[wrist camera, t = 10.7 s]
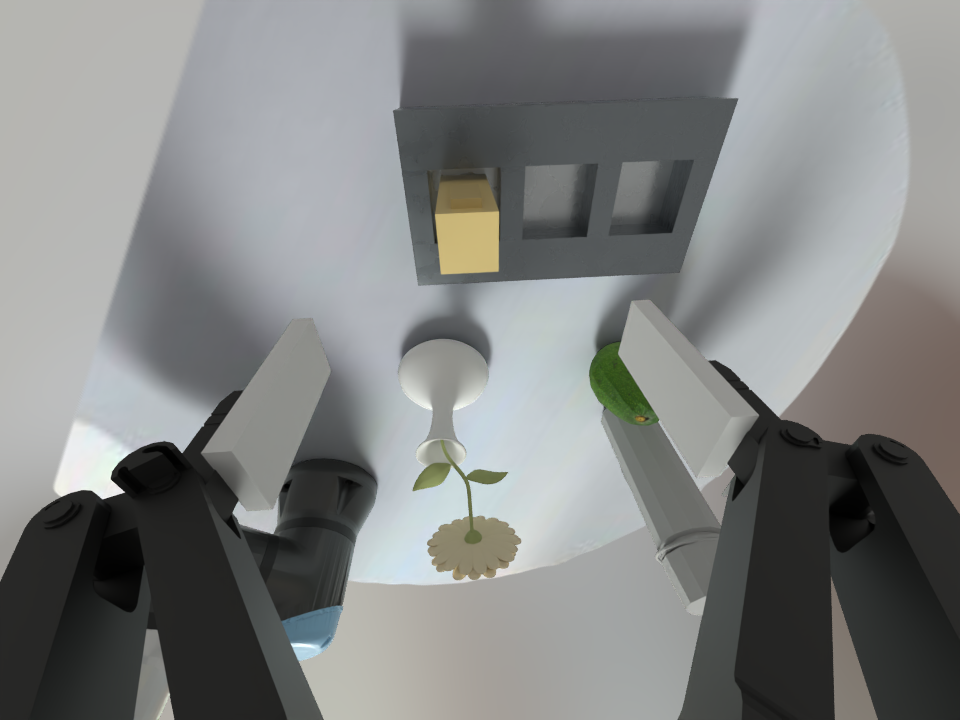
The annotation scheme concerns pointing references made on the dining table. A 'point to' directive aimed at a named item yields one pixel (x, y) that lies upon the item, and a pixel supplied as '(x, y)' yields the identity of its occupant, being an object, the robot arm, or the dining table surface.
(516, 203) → the jack panel
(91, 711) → the robot arm
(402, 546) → the dining table surface
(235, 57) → the dining table surface
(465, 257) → the yellow tall block
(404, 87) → the dining table surface
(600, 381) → the avocado
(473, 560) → the flower in vase
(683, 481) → the water bottle
